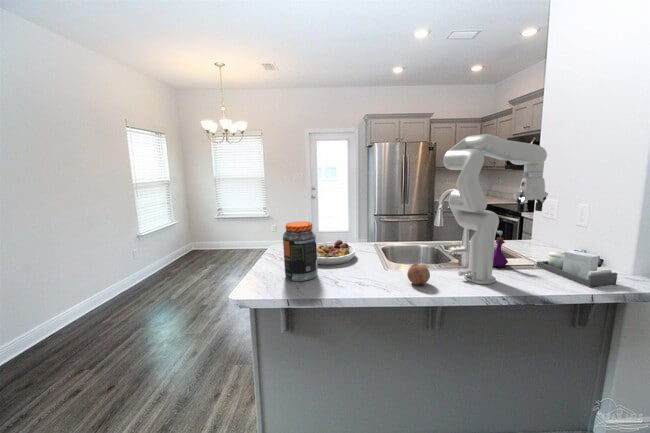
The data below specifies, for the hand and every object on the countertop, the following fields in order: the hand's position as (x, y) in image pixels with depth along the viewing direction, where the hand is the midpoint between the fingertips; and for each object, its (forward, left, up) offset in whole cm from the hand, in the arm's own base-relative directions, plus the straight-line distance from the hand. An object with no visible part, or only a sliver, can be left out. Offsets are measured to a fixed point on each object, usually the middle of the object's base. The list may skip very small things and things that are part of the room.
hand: (529, 211), depth 142 cm
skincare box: (+14, -15, -28) cm, 35 cm away
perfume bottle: (-10, +6, -28) cm, 31 cm away
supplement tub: (-109, +14, -28) cm, 114 cm away
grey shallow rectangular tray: (+14, -12, -28) cm, 34 cm away
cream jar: (+14, -4, -28) cm, 31 cm away
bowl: (-91, +39, -29) cm, 103 cm away
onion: (-59, -7, -28) cm, 66 cm away
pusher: (+14, -24, -27) cm, 39 cm away
